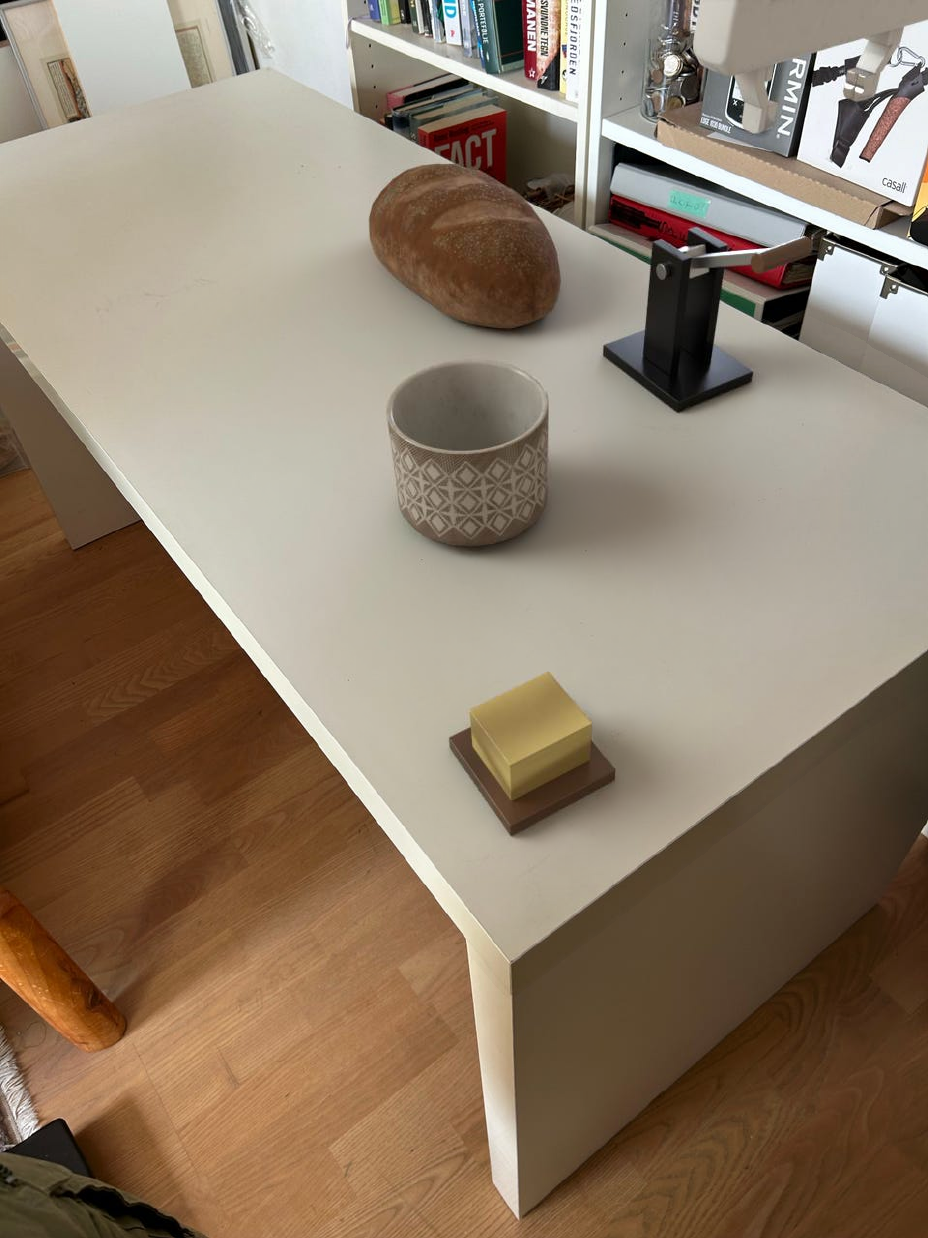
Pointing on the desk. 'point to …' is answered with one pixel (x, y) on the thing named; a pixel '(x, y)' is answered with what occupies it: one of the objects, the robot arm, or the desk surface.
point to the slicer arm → (748, 257)
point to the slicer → (680, 331)
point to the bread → (466, 245)
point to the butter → (531, 753)
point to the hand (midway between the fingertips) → (808, 113)
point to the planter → (470, 450)
